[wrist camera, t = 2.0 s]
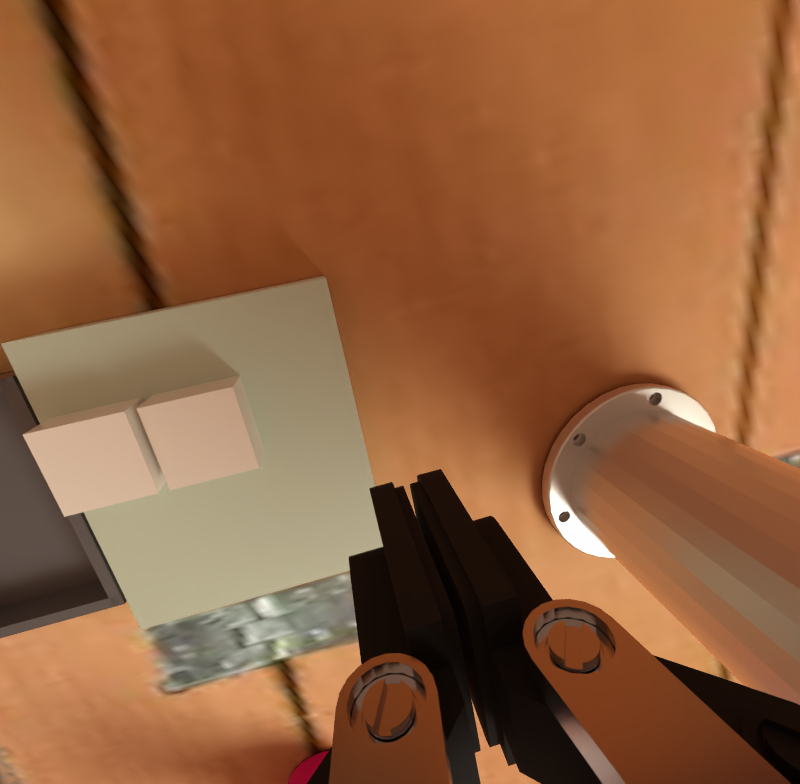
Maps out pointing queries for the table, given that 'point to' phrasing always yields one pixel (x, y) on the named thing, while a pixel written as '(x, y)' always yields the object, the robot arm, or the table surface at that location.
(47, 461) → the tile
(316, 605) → the table surface
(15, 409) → the box
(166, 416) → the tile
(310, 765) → the pepper mill
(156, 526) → the beige flat slab
